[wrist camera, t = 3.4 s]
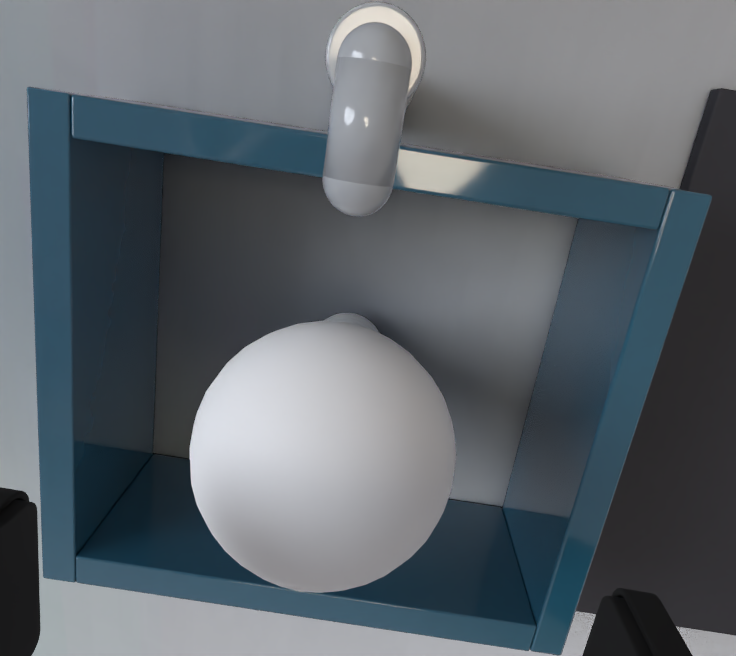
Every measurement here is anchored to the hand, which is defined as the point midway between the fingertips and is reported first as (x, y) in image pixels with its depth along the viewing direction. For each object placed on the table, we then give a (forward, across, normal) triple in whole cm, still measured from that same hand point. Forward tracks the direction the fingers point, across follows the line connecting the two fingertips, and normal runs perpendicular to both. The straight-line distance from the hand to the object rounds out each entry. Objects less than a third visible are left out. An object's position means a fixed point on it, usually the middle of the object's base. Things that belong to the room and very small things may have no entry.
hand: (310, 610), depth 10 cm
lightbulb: (+13, 0, 0) cm, 13 cm away
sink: (+12, +1, -2) cm, 13 cm away
